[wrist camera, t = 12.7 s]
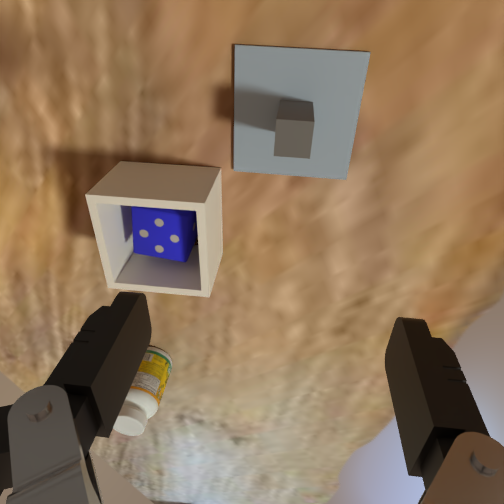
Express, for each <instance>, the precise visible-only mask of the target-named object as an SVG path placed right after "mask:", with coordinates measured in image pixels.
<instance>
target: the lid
mask: <svg viewBox="0 0 504 504" xmlns="http://www.w3.org/2000/svg"><path fill="white" fill-rule="evenodd" d="M369 58H370V52H364V51H346V50H327V49H309V48H291V47H272V46H254V45H236V44H235V84H234V171H242V172H254V173H267V174H280V175H292V176H305V177H318V178H330V179H343V180H346V178H347V173H348V168H349V163H350V157H351V152H352V147H353V142H354V136H355V131H356V126H357V121H358V115H359V110H360V105H361V100H362V94H363V89H364V84H365V79H366V73H367V68H368V63H369Z"/></svg>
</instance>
